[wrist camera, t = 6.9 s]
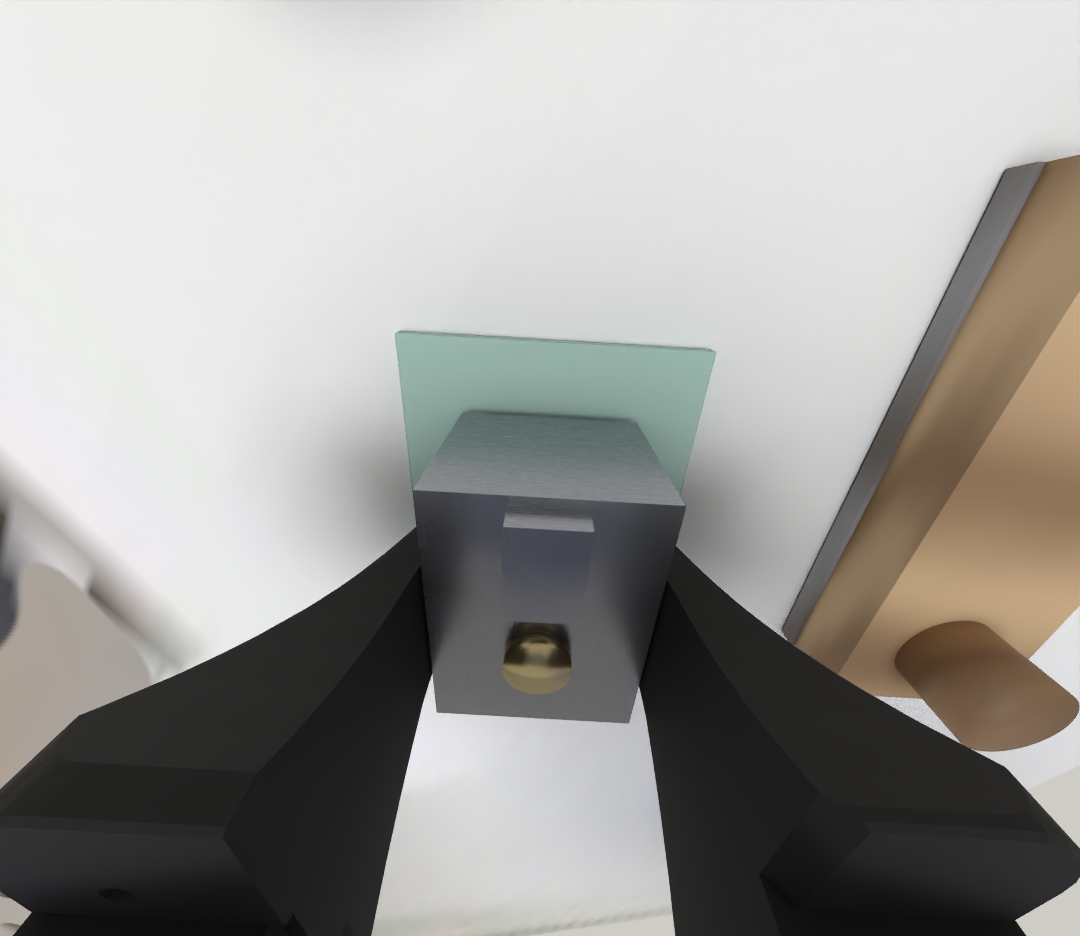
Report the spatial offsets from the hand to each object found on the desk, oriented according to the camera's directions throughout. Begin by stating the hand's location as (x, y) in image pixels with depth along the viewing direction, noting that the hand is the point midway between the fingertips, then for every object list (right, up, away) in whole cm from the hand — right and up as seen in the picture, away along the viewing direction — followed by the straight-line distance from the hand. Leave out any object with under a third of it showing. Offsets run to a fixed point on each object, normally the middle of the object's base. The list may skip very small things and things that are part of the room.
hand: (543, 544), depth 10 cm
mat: (0, +1, +2) cm, 2 cm away
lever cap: (0, +1, +1) cm, 1 cm away
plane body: (+12, +2, +1) cm, 12 cm away
